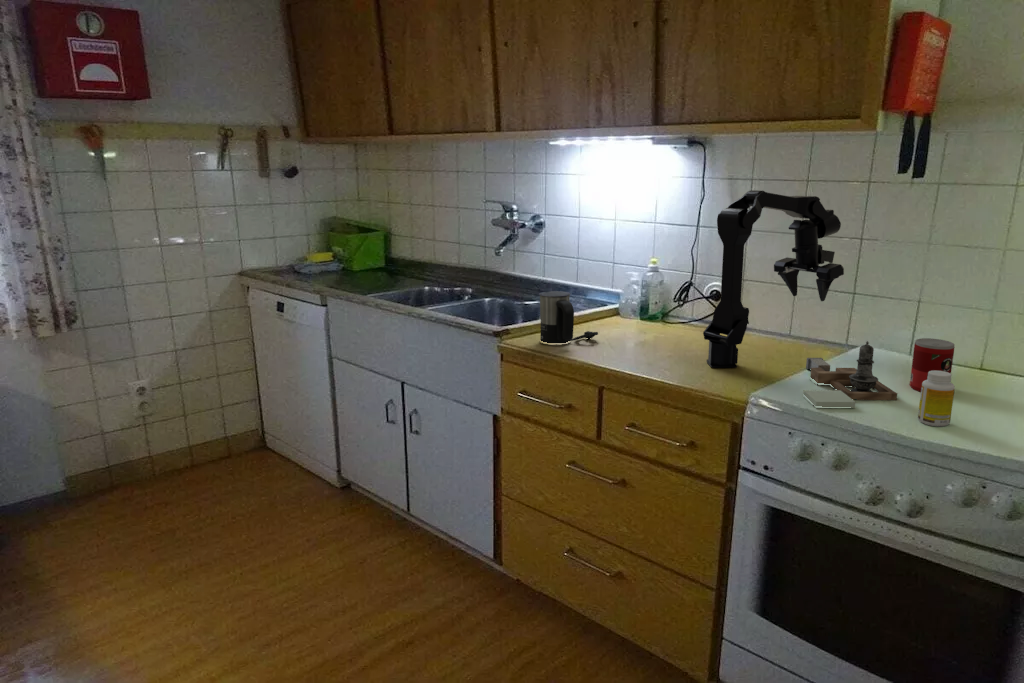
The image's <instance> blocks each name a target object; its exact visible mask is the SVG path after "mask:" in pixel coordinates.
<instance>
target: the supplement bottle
mask: <svg viewBox="0 0 1024 683" xmlns="http://www.w3.org/2000/svg"><path fill="white" fill-rule="evenodd" d="M955 386H956V385H955V384H954V383H952V372H951V373H948V372H945V371H936V370H934V371H929V372H928V376H927V380H925V381H923V382H922V388H921V392H920V397H919V406H918V412H917V413H918V414H917V419H918V421H919V422H920V423H922V424H924V425H927V426H933V427H947V426H948V425H950V423H951V417H952V411H953V410H952V409H953V405H954V404H953V403H954V396H955V395H954V394H955V389H956V388H955Z"/></svg>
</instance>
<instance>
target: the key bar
mask: <svg viewBox="0 0 1024 683" xmlns="http://www.w3.org/2000/svg"><path fill="white" fill-rule="evenodd" d="M811 368H822V369H823V370H824V371H831V365H830V364H829V363H828V362H827V361H825V360H824V358H823V357H806V362H805V370H807V369H811Z"/></svg>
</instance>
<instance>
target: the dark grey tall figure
mask: <svg viewBox="0 0 1024 683" xmlns="http://www.w3.org/2000/svg"><path fill="white" fill-rule="evenodd" d="M873 358H874V347H873V346H872V345H870V342H869V341H865V344H863V345H861V346H860V347H859V352H858V359H856V362H857V368H856V369H857V371H856V373H855V374H852V375H850V376H849V378H850V381H851V384H852V385H853V386H854V387H852V388H851V389H850V390H851V392H874V390H872V389H874V388H873V387H874V386H875V385H876V381H879V378H878V377H877V376H874V375H873V374H874V373H873V365H874V364H875V361H874V360H873Z"/></svg>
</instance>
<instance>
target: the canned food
mask: <svg viewBox="0 0 1024 683" xmlns="http://www.w3.org/2000/svg"><path fill="white" fill-rule="evenodd" d="M913 345H914V347H913V353H912V354H913V355H912V361H911V362H912V363H911V371H910V379H909V386H910V388H912V389H913V390H914V391H916V392H920V393H921V388H922V382H923V381H925V380H927V376H928V372H929V371H934V370H936V371H945V372H948V373H951V374H952V369H953V361H954V356H955V343H954V342H951V341H949V340H945V339H939V338H927V337H926V338H925V337H923V338H917V339H915V341H914V344H913Z"/></svg>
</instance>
